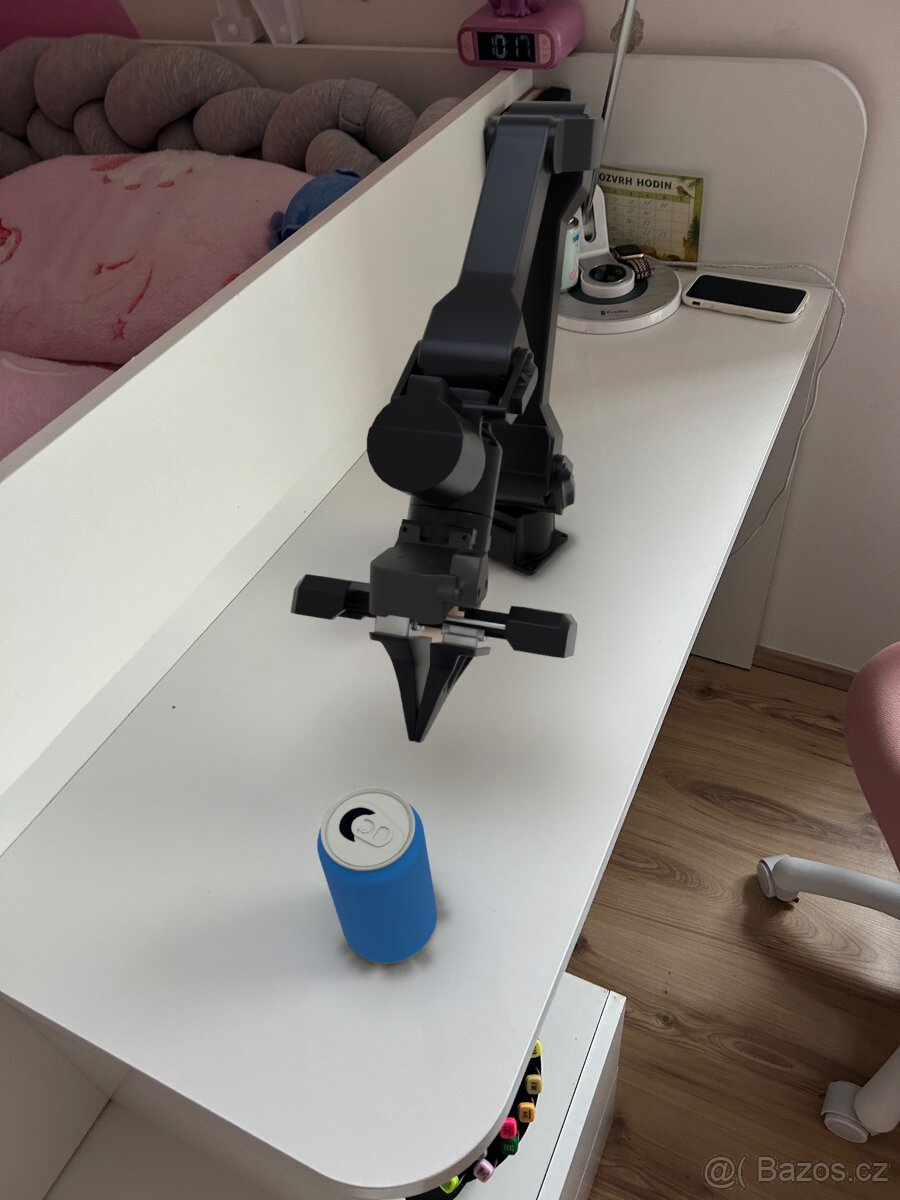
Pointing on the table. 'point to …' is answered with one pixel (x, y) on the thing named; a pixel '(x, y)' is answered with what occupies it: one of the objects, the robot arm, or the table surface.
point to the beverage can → (378, 873)
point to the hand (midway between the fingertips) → (416, 741)
